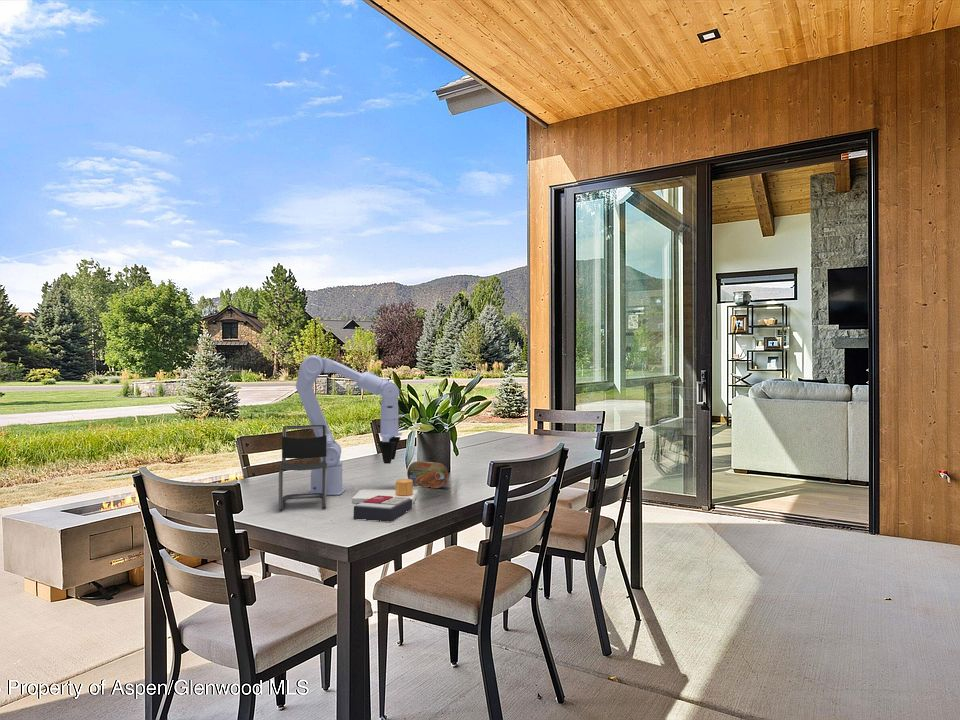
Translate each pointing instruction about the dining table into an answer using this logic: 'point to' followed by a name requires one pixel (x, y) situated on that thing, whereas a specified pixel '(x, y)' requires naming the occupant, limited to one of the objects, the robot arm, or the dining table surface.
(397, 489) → the wooden cylinder block
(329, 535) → the dining table surface
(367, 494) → the junction board
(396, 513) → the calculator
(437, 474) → the tin
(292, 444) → the chair
